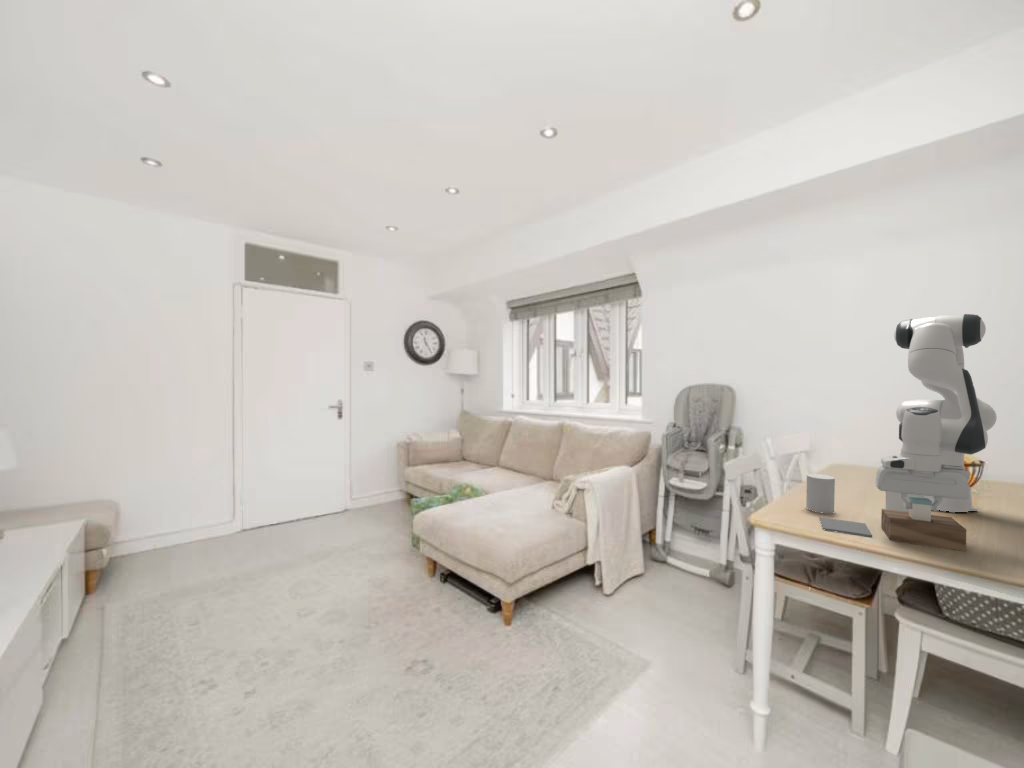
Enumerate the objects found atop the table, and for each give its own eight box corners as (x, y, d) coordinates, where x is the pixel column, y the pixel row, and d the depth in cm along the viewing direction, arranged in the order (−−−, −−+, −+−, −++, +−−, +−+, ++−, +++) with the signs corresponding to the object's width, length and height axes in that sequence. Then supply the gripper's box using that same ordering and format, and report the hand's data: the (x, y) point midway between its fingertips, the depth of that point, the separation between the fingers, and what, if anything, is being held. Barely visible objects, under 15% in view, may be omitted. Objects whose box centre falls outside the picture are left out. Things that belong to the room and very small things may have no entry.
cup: (837, 510, 156) (838, 476, 155) (829, 515, 151) (829, 480, 150) (811, 505, 162) (811, 472, 162) (802, 509, 157) (803, 475, 157)
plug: (907, 532, 132) (908, 495, 132) (926, 534, 130) (927, 497, 130) (911, 536, 129) (912, 499, 128) (931, 539, 126) (931, 501, 126)
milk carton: (898, 515, 150) (899, 460, 150) (923, 522, 143) (925, 464, 143) (885, 518, 147) (886, 461, 147) (910, 524, 141) (911, 466, 140)
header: (881, 527, 138) (881, 508, 138) (950, 537, 130) (951, 517, 130) (889, 539, 128) (890, 519, 128) (965, 551, 120) (966, 529, 120)
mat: (819, 518, 147) (819, 517, 147) (865, 525, 140) (865, 523, 140) (822, 529, 136) (823, 527, 136) (872, 537, 130) (872, 535, 130)
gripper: (965, 464, 126) (964, 512, 127) (874, 457, 137) (873, 501, 137) (974, 468, 121) (973, 518, 121) (878, 461, 131) (878, 507, 132)
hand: (919, 509), depth 129 cm, fingers closed on plug, 4 cm apart
